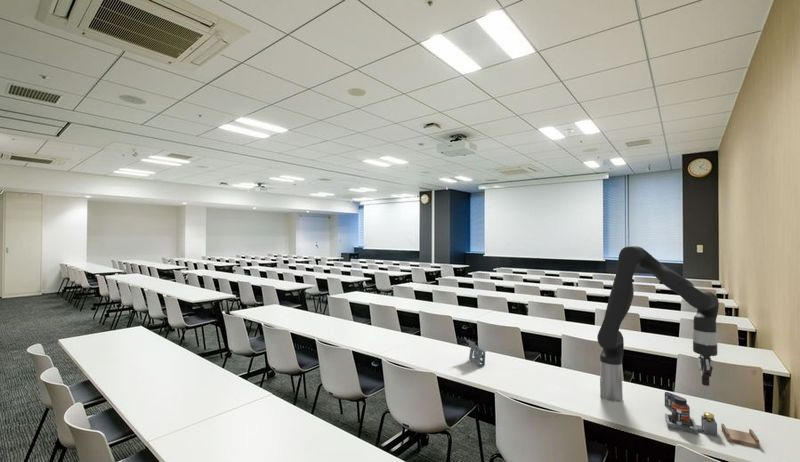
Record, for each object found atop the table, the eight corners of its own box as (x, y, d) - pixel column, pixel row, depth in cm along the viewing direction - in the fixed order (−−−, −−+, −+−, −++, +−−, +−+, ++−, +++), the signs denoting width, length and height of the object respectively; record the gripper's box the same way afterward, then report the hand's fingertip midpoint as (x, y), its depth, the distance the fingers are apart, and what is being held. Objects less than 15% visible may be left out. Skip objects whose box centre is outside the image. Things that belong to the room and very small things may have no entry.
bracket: (464, 360, 228) (464, 337, 228) (477, 359, 231) (477, 335, 231) (474, 367, 215) (474, 342, 216) (488, 365, 218) (488, 341, 219)
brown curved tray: (727, 440, 137) (726, 433, 137) (721, 430, 144) (721, 423, 144) (759, 448, 132) (759, 440, 132) (751, 436, 140) (751, 429, 140)
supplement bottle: (682, 430, 144) (682, 402, 144) (668, 423, 150) (667, 396, 150) (693, 428, 146) (693, 400, 146) (678, 421, 151) (678, 394, 152)
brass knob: (704, 430, 142) (704, 414, 142) (703, 427, 145) (702, 411, 145) (715, 432, 141) (714, 416, 141) (713, 429, 143) (713, 413, 144)
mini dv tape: (664, 405, 166) (664, 392, 167) (666, 404, 167) (666, 391, 167) (684, 413, 159) (683, 399, 159) (686, 412, 159) (685, 398, 159)
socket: (667, 428, 146) (667, 415, 146) (665, 418, 154) (664, 406, 154) (718, 439, 138) (718, 426, 138) (713, 428, 146) (712, 415, 146)
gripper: (690, 336, 152) (690, 377, 151) (695, 344, 140) (696, 388, 140) (713, 339, 148) (714, 381, 147) (721, 347, 137) (721, 393, 136)
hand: (705, 384), depth 144 cm, fingers closed
